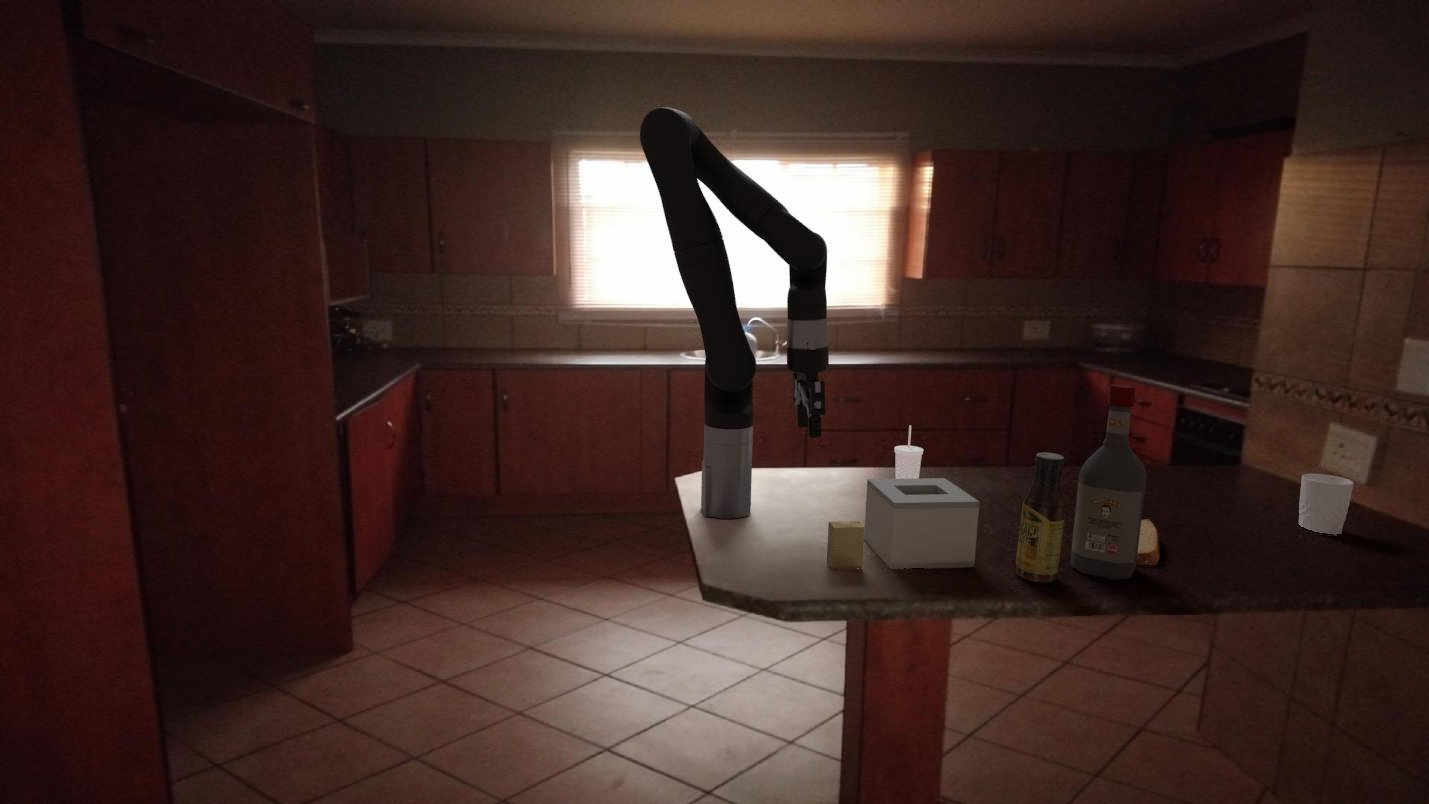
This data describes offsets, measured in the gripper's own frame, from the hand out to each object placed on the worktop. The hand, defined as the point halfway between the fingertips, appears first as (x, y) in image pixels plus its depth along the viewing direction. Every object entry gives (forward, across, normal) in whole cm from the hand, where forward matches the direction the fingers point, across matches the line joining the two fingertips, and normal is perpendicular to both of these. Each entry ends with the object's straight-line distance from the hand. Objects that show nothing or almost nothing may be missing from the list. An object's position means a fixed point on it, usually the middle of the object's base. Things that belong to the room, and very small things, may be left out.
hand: (808, 432), depth 153 cm
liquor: (+20, +27, +42) cm, 54 cm away
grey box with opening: (+18, +18, +14) cm, 29 cm away
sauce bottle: (+19, +30, +29) cm, 46 cm away
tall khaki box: (+17, +23, 0) cm, 28 cm away
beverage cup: (+19, -20, +26) cm, 38 cm away
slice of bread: (+21, +16, +54) cm, 60 cm away
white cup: (+23, +12, +96) cm, 99 cm away
